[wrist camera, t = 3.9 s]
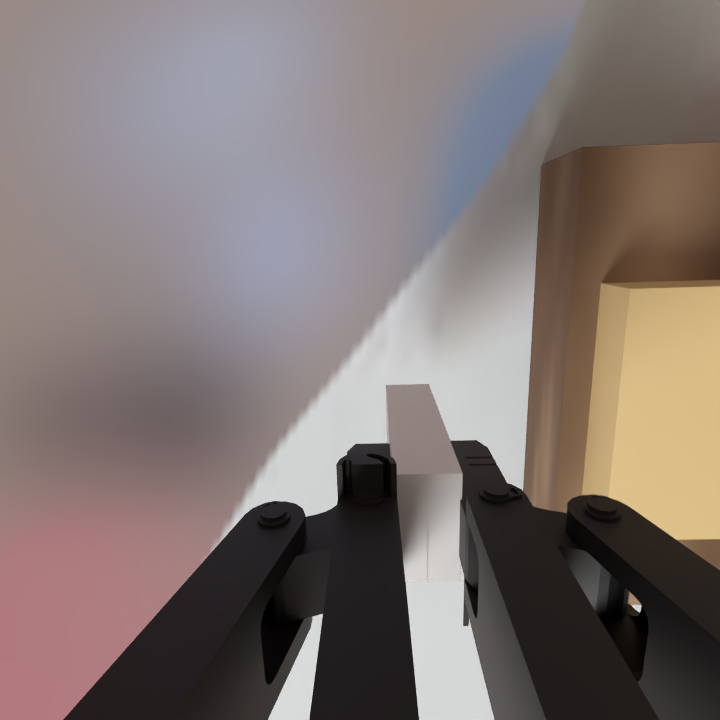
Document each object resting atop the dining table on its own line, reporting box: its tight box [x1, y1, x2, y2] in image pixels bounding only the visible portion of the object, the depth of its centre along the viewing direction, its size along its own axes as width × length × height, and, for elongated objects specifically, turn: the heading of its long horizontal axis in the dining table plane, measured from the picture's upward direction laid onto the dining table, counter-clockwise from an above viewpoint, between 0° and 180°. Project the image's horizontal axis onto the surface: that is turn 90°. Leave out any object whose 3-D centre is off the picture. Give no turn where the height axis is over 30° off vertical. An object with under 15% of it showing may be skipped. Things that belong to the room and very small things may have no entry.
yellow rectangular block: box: [582, 280, 720, 540], centre depth 17 cm, size 6×9×2 cm, turn 2°
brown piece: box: [523, 142, 720, 605], centre depth 20 cm, size 13×18×4 cm
